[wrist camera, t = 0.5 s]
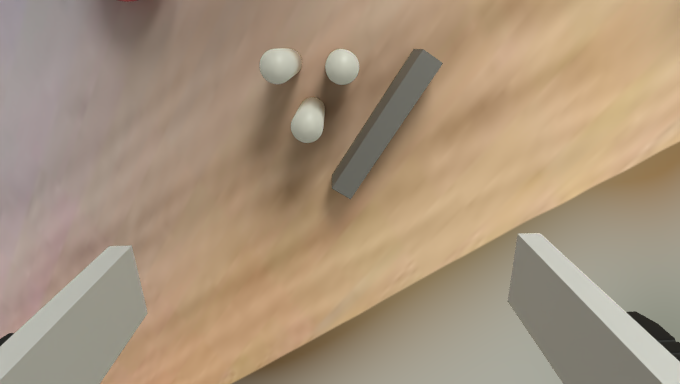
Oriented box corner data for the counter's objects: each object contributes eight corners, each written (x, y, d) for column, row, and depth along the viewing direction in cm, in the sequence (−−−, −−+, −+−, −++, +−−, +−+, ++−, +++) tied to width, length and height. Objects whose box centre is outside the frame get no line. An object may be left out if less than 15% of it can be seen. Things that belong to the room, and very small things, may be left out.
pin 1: (297, 98, 37) (288, 112, 29) (323, 95, 37) (320, 109, 29) (301, 124, 38) (293, 144, 30) (326, 121, 38) (325, 140, 30)
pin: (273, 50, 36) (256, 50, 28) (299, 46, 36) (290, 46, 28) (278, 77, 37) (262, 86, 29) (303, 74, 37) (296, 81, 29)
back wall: (348, 185, 40) (350, 199, 37) (331, 175, 40) (331, 188, 36) (431, 61, 36) (442, 63, 33) (413, 49, 36) (423, 49, 32)
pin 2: (325, 50, 36) (323, 51, 28) (351, 47, 36) (357, 47, 28) (328, 78, 37) (327, 86, 29) (354, 74, 37) (360, 82, 29)
